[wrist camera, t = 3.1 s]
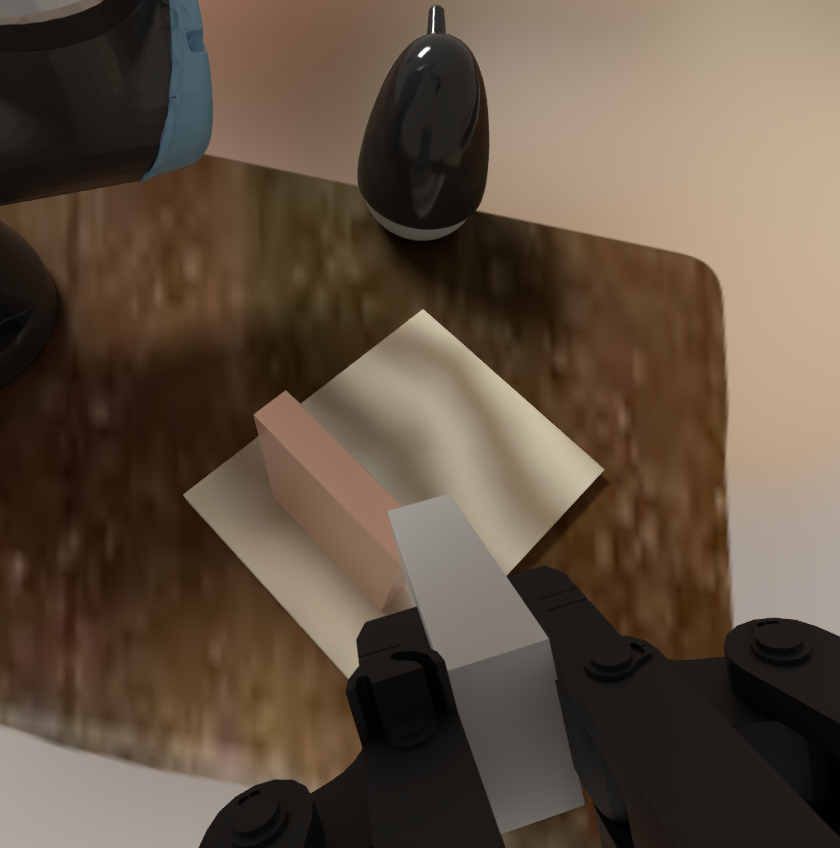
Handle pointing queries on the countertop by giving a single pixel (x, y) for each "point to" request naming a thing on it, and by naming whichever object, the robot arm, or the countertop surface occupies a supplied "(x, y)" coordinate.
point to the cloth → (402, 474)
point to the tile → (331, 497)
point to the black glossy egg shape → (427, 138)
